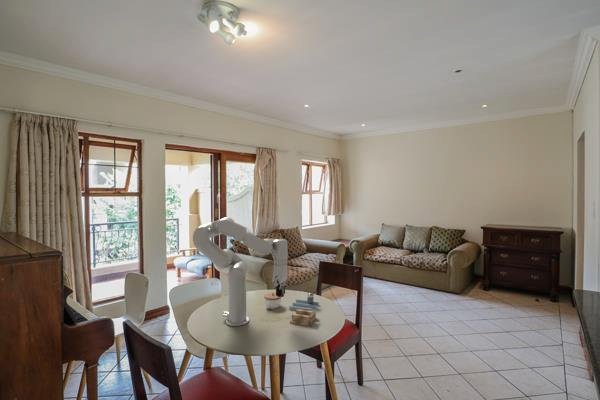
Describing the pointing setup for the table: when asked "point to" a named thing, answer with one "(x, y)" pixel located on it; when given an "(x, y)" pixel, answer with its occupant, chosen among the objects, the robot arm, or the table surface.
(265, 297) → the lidded jar
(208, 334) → the table surface
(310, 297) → the cell
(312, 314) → the cradle
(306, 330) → the table surface
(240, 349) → the table surface
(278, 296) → the cell
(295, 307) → the trough board
